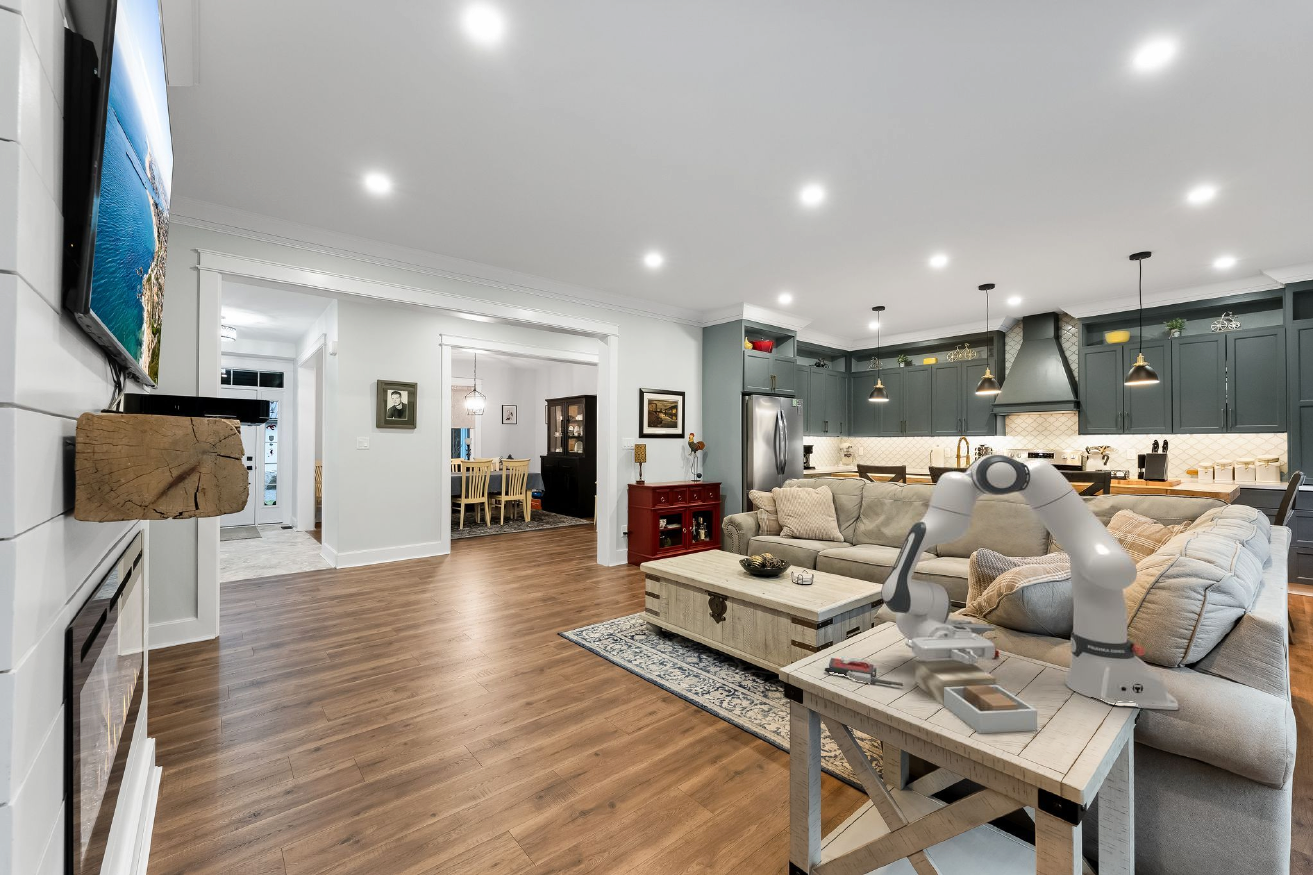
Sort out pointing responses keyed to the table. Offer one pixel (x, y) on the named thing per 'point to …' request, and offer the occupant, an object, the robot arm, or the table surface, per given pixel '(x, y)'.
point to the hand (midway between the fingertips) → (972, 660)
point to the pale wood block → (949, 676)
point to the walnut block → (987, 699)
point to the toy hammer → (973, 628)
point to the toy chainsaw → (857, 670)
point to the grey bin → (991, 713)
